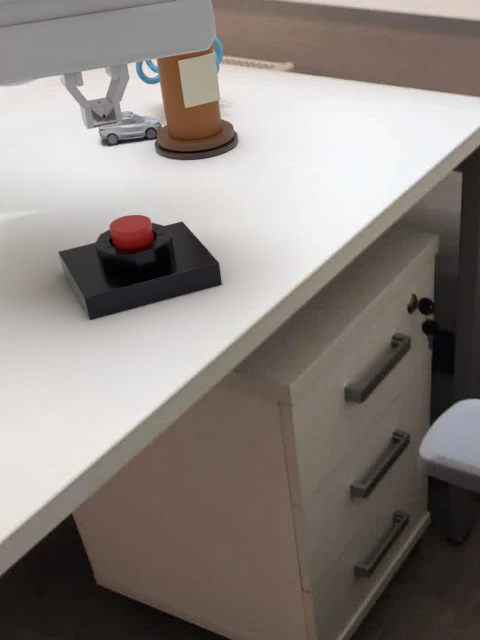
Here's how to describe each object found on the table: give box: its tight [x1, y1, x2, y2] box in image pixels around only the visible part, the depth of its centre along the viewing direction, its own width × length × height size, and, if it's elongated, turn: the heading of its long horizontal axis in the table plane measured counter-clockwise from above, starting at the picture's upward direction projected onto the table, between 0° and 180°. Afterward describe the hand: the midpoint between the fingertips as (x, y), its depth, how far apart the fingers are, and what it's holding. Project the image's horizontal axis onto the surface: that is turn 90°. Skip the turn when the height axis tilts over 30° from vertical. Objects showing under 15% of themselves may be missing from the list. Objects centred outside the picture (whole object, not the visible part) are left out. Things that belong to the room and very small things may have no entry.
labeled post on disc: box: [156, 44, 235, 151], centre depth 100 cm, size 9×9×19 cm
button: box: [109, 214, 154, 249], centre depth 77 cm, size 4×4×2 cm
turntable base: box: [154, 130, 239, 160], centre depth 106 cm, size 10×10×1 cm
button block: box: [58, 221, 223, 321], centre depth 79 cm, size 12×10×4 cm
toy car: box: [98, 110, 164, 146], centre depth 108 cm, size 4×8×3 cm, turn 105°
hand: (103, 124), depth 72 cm, fingers closed
